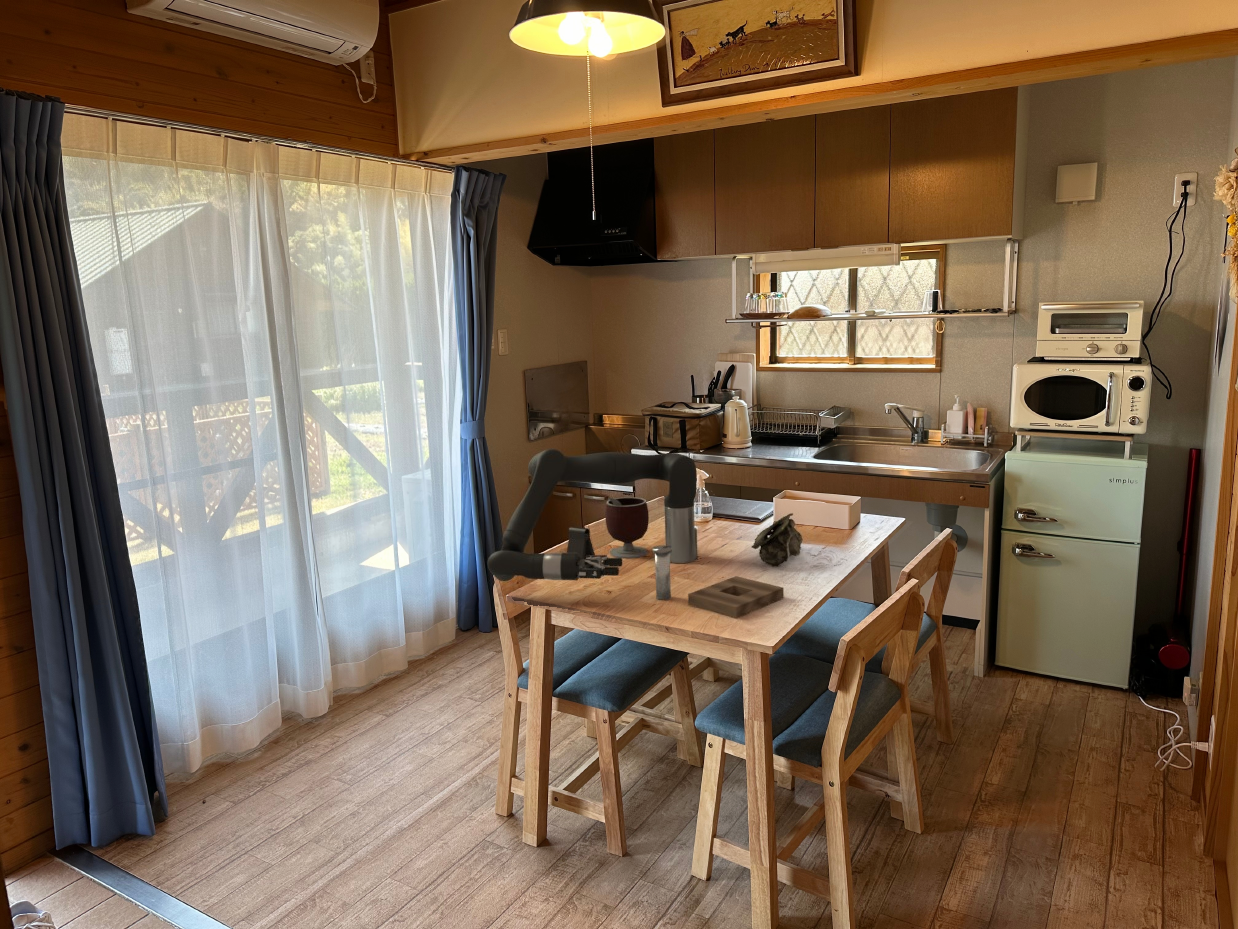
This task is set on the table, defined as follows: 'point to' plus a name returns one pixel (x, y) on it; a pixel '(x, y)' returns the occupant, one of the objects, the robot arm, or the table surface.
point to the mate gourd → (627, 524)
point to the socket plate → (735, 596)
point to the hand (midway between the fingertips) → (620, 566)
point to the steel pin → (662, 571)
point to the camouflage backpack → (779, 542)
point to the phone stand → (580, 542)
